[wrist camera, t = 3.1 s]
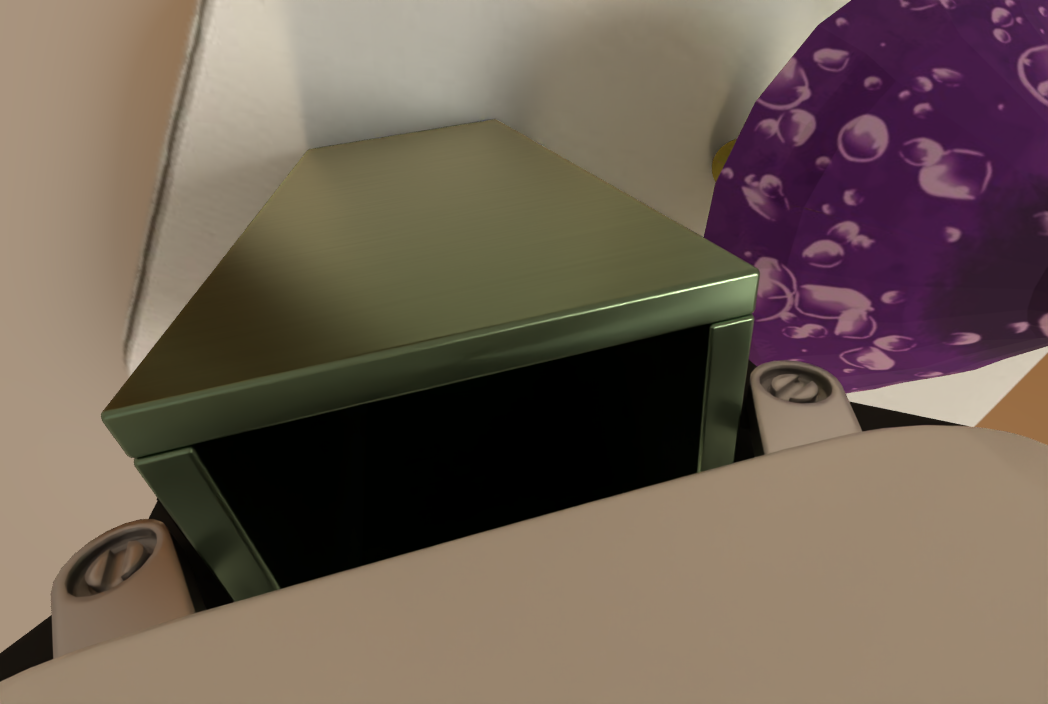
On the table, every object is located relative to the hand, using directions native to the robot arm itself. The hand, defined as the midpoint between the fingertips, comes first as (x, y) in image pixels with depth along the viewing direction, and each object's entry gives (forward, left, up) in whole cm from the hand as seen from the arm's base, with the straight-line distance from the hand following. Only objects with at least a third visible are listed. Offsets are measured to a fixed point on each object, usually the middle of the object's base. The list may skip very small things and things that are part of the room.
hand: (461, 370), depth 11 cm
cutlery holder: (0, 0, -11) cm, 11 cm away
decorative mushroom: (0, +13, -11) cm, 18 cm away
